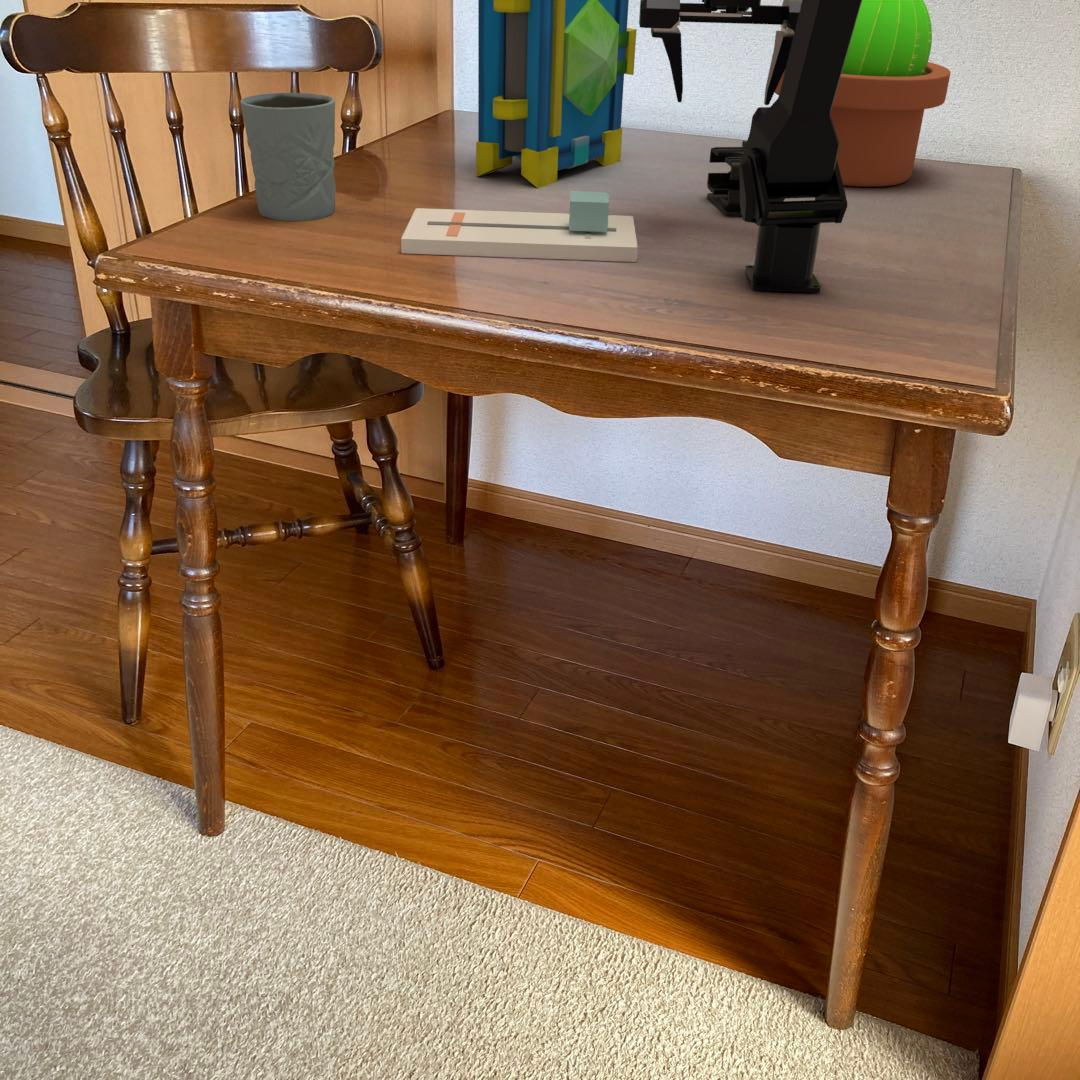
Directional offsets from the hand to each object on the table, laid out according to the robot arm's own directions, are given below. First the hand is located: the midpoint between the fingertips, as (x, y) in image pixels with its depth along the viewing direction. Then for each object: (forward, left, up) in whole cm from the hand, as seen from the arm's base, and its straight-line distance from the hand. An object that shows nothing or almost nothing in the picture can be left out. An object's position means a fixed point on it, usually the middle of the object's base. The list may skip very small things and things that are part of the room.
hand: (722, 103), depth 120 cm
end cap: (+10, -5, -14) cm, 18 cm away
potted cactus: (+30, -21, -14) cm, 39 cm away
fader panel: (-8, +21, -13) cm, 26 cm away
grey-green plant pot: (+1, +47, -14) cm, 49 cm away
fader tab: (-8, +14, -11) cm, 20 cm away
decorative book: (+26, +19, -14) cm, 35 cm away
